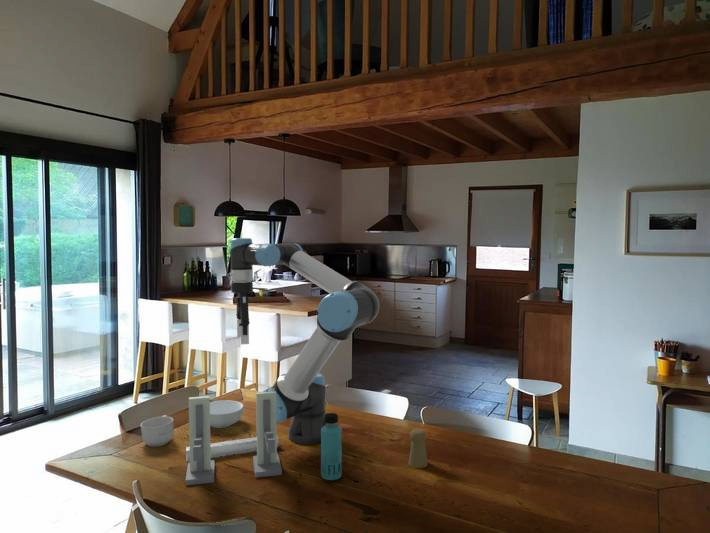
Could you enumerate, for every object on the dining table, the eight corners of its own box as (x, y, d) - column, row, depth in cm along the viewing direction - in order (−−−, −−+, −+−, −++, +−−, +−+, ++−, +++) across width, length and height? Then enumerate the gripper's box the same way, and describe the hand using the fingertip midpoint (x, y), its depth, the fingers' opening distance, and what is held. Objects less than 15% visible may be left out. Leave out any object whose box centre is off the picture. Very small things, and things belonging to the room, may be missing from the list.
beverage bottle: (326, 487, 151) (325, 419, 150) (316, 477, 157) (316, 412, 156) (346, 482, 154) (346, 416, 153) (336, 473, 160) (336, 409, 159)
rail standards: (277, 458, 171) (277, 386, 169) (285, 492, 149) (285, 409, 147) (188, 467, 164) (186, 392, 162) (182, 504, 142) (180, 417, 140)
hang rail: (276, 445, 182) (276, 434, 182) (278, 448, 179) (278, 437, 179) (186, 459, 171) (185, 447, 171) (186, 462, 168) (186, 450, 168)
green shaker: (429, 461, 168) (430, 428, 167) (424, 469, 163) (424, 435, 162) (412, 458, 171) (412, 425, 170) (405, 465, 165) (406, 431, 165)
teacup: (163, 451, 177) (162, 427, 176) (134, 448, 179) (133, 425, 178) (184, 435, 190) (184, 413, 190) (157, 433, 192) (157, 411, 192)
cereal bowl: (237, 432, 193) (237, 414, 192) (193, 432, 193) (192, 414, 192) (247, 416, 210) (247, 399, 209) (206, 416, 210) (206, 399, 209)
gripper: (228, 278, 197) (229, 334, 198) (234, 284, 173) (235, 348, 174) (248, 278, 199) (249, 333, 200) (257, 284, 175) (257, 346, 177)
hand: (242, 340), depth 187 cm, fingers open, 13 cm apart
